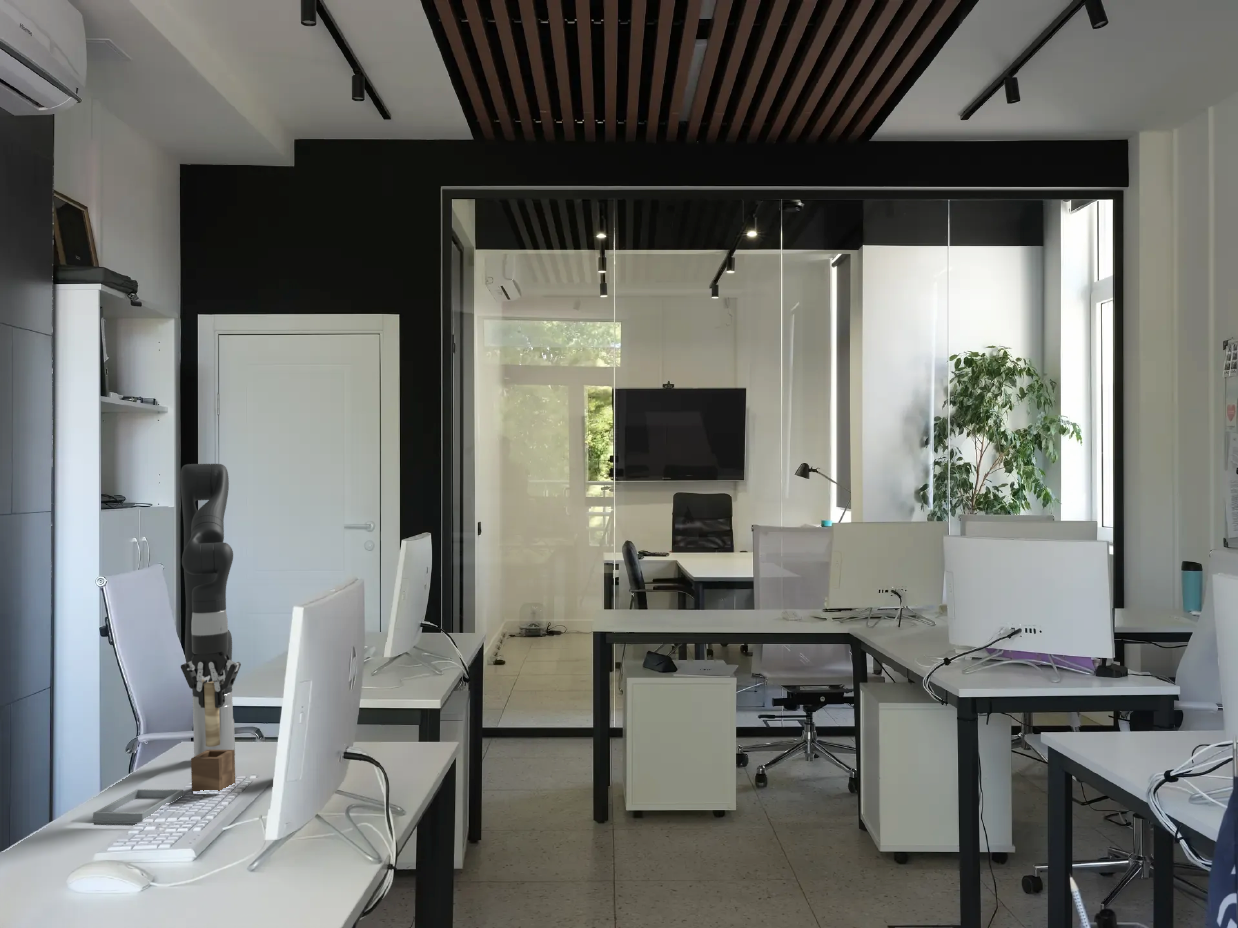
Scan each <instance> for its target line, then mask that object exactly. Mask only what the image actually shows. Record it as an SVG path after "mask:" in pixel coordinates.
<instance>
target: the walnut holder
mask: <svg viewBox="0 0 1238 928" xmlns="http://www.w3.org/2000/svg"><path fill="white" fill-rule="evenodd" d="M235 759H236V749H235V750H206V751H204V752H202V753H200V754H198V755H197V756H195V757H194V756H193V757H191V759H190V770H191V771H190V772H191V773H190V775H191V792H192V791H200V790H203V791H204V790H218V791H220V790H222V789H223V788H226V787H228V786H229V785H232V784H233V783H235V784H236V760H235Z"/></svg>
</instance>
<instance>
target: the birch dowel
mask: <svg viewBox="0 0 1238 928" xmlns="http://www.w3.org/2000/svg"><path fill="white" fill-rule="evenodd" d="M215 692H216V690H215V686H214V682H207V683H204V699H205V737H206V746H207V747H213V746H217V745H220V719H219V708H215Z"/></svg>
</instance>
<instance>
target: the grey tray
mask: <svg viewBox="0 0 1238 928" xmlns="http://www.w3.org/2000/svg"><path fill="white" fill-rule="evenodd" d="M181 796H183V797H184V789H175V788H174V789H168V788H167V789H164V788H162V789H161V788H160V789H157V788H152V789H151V788H136V789H135V790H132V791H131V792H129V793H127V794H126V795H123V796H122V797H120V798H118V799H116V800H113V802H112V801H111V803H109V804H106V805H105V806H103V807H102V808H100V809H97V810H96V811H94V812H93V814H92V815H93V818H92V820H93V826H129V827H130V826H132V827H133V825H135V824H137V823H138V822H143V821H142V820H143V819H144V818H146V817H148V816H150V817H152V816H151V814H153V813H154V812H155V811H157V810H158V809H159V808H160V807H161V806H162V805H165V804H166V803H171V802H173V801H175V800H176V799H178V798H179V797H181ZM137 798H164V799H162V800H160V801H159V802H157V803H156V804H154V805H152V806H150V807H148V808H147V809H145V810H143V811H142V812H135V811H134V812H126V811H124V812H123V811H121V812H120V811H119V812H117V811H116V810H117V809H119V808H121V807H123V806H125V805H126V804H129V803H130V802H131V801H133V800H136V799H137ZM175 802H176V801H175ZM94 821H95V822H94ZM97 821H103V822H97ZM104 821H105V822H104ZM108 821H109V822H108ZM110 821H111V822H110ZM112 821H113V822H112ZM116 821H117V822H116Z"/></svg>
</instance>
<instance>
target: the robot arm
mask: <svg viewBox="0 0 1238 928" xmlns="http://www.w3.org/2000/svg"><path fill="white" fill-rule="evenodd" d="M179 476H180V479H179V480H180V484H179V485H180V496H181V505H182V506H181V507H182V517H183V518H182V519H183V552H182V558H181V565H182V568H183V573H184V574H183V575H184V588H185V589H184V590H185V591H184V592H185V593H184V594H185V630H184V631H185V632H184V633H185V634H184V657H185V662H184V664H180V669H181V671H182V674H183V676H184V678H185V681H186V682H187V685H188V686H189V689H191V690H192V692H191V693H192V714H193V715H192V716H193V718H192V720H193V721H192V722H193V723H192V725H193V727H192V728H193V755H194V756H193V757H195V756H197V755H198V754H200V753H202V752H204V751H206V750H235V751H236V745H235V744H236V742H235V738H236V737H235V734H236V733H235V719H234V710H233V709H234V707H233V705H234V704H233V686H234V684H235V681H236V678H237V677H238V673H239V671H240V668H241V665H242V664H241V662H240V661H237V662H236V661H234V660H233V638H232V633H231V631H230V629H229V625H228V615H227V598H226V596H227V584H228V579H229V574H230V571H231V568H232V565H233V562H234V551H233V548H232V547H231V545H230V544H228V543H227V542H224V540H225V539H224V538H225V536H224V535H225V529H224V528H225V527H224V525H225V523H224V520H225V514H226V508H227V504H228V495H229V485H230V483H229V482H230V481H229V472H228V469H227V467H226V466H225V465H224V464H222V463H191V464H190V463H187V464H184V465H183V466H182V467H181V470H180V475H179ZM197 501H206V502H205V503H204V504H203V505H201V507H200V508H199V509H197V504H196V502H197ZM195 669H196V671H197V673H196V671H195ZM207 682H214V686H215V690H216V692H215V708H219V719H220V745H217V746H213V747H207V746H206V737H205V699H204V683H207Z"/></svg>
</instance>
